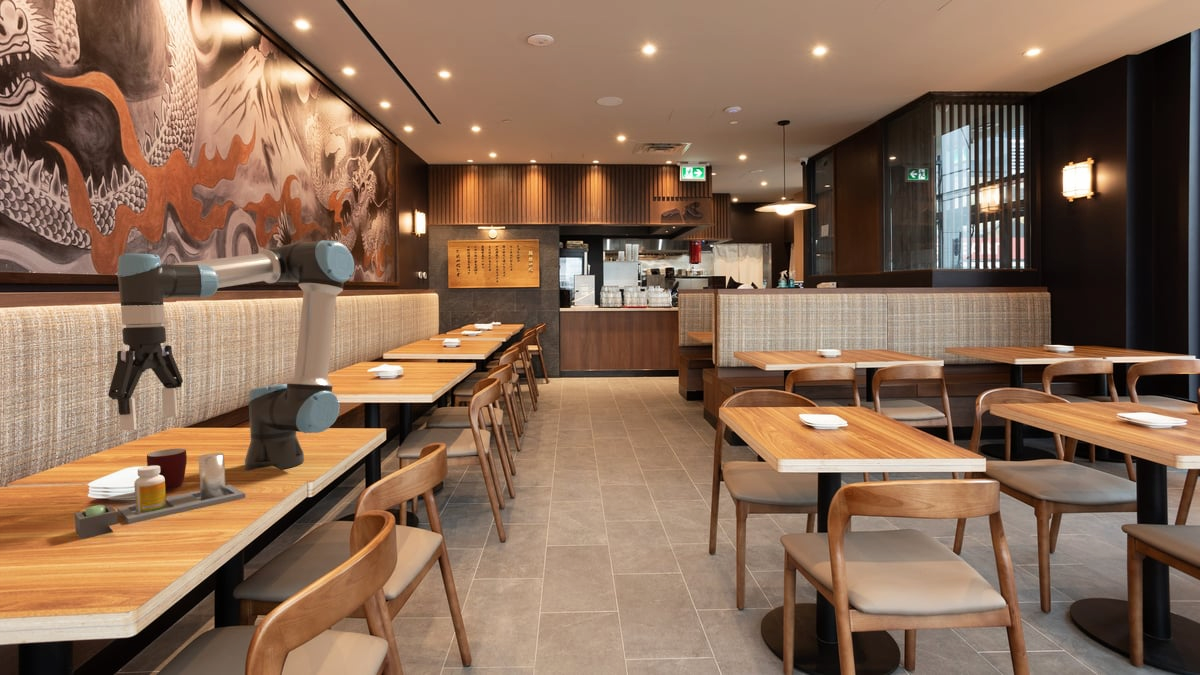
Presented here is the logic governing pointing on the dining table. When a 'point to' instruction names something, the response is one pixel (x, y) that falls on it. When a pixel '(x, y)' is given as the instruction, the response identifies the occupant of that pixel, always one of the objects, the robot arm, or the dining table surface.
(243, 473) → the dining table surface
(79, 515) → the grey square holder
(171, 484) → the mug
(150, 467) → the supplement bottle
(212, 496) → the seated billet
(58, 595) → the dining table surface
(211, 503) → the grey slotted tray
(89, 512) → the light green egg
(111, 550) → the dining table surface
